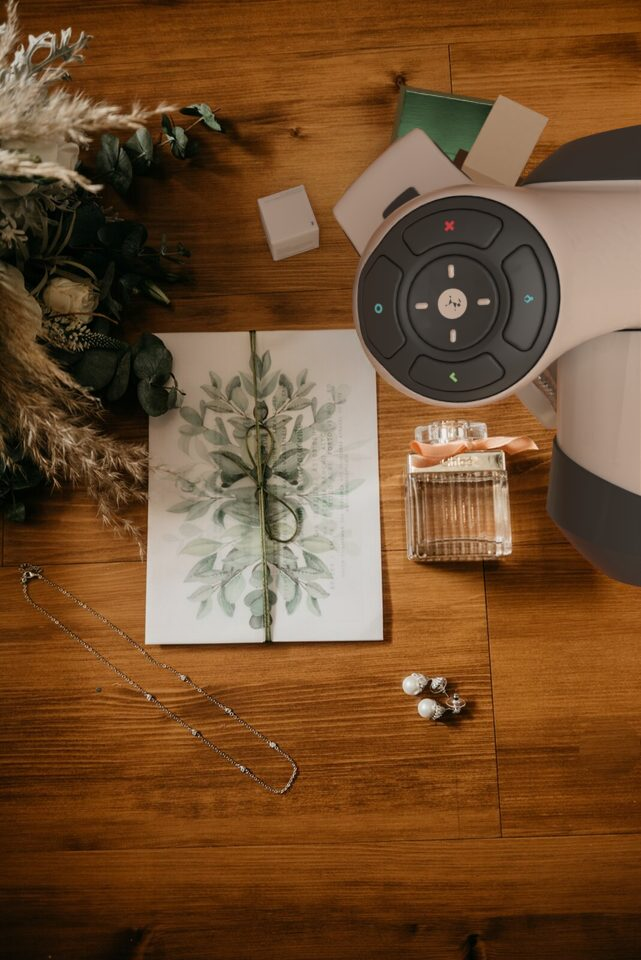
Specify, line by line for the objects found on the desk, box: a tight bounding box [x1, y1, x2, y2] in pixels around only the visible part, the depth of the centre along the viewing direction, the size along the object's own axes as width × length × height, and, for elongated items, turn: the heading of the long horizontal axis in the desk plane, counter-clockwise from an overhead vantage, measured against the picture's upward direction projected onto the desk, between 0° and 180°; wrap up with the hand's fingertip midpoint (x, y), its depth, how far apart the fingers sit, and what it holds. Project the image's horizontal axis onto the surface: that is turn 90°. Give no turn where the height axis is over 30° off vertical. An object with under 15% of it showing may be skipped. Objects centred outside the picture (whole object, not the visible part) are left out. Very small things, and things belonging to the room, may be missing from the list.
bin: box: [389, 84, 496, 161], centre depth 79 cm, size 12×12×11 cm
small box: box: [257, 184, 320, 262], centre depth 82 cm, size 6×6×5 cm
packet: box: [461, 94, 550, 186], centre depth 56 cm, size 4×6×9 cm
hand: (479, 287), depth 52 cm, fingers open, 8 cm apart
